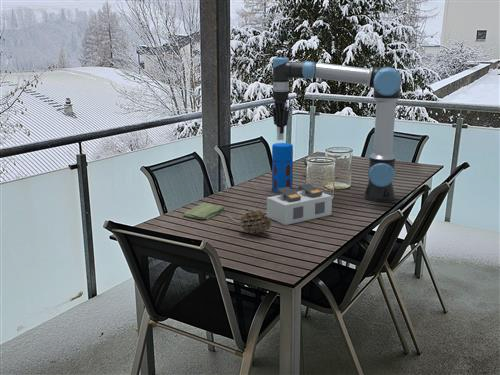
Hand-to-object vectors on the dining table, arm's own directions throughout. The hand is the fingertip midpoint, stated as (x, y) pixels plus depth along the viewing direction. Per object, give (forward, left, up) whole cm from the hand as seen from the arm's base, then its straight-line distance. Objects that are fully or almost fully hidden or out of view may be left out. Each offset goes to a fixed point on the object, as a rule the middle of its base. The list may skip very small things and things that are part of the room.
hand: (280, 139), depth 247 cm
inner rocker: (-23, +13, -19) cm, 32 cm away
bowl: (+3, -53, -31) cm, 61 cm away
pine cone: (-11, +48, -31) cm, 58 cm away
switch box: (-20, +18, -30) cm, 41 cm away
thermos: (+7, -15, -31) cm, 35 cm away
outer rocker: (-17, +23, -19) cm, 35 cm away
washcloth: (+19, +38, -31) cm, 52 cm away
